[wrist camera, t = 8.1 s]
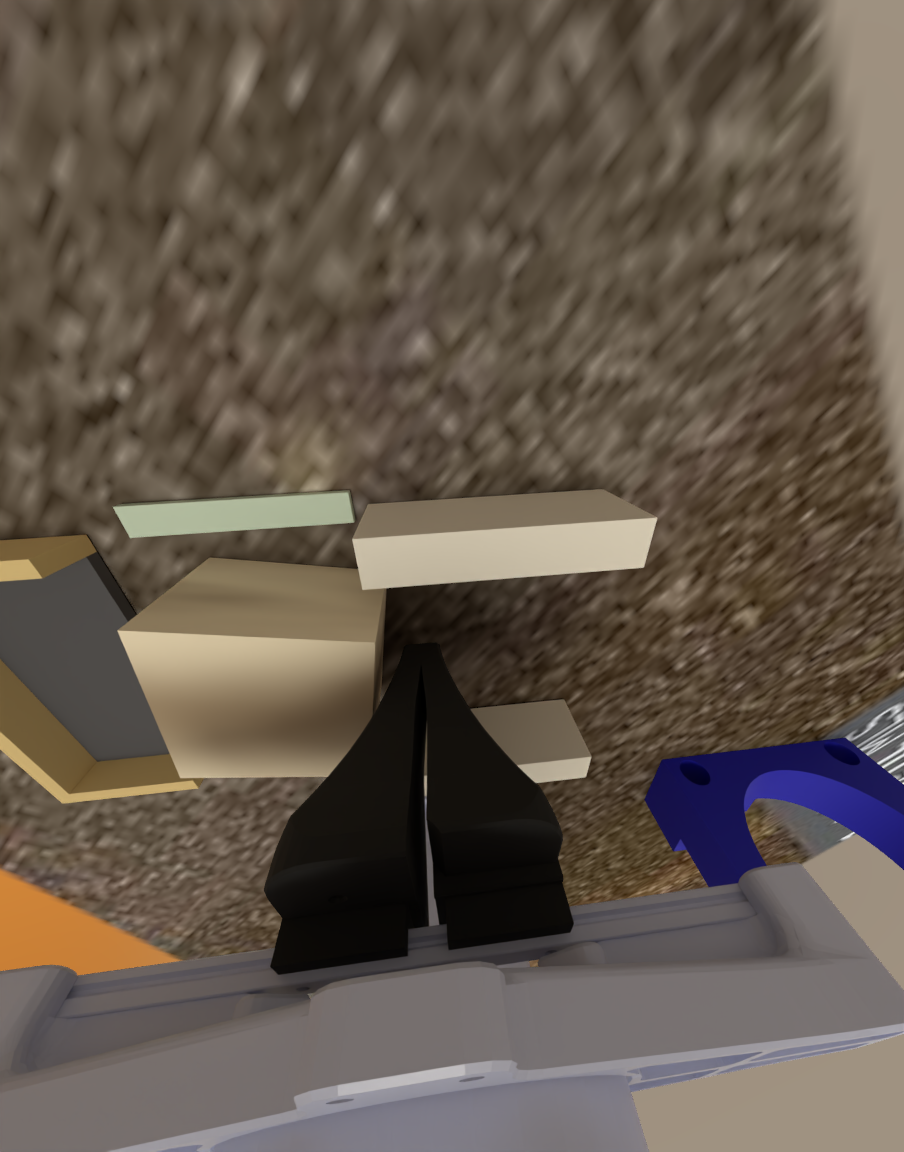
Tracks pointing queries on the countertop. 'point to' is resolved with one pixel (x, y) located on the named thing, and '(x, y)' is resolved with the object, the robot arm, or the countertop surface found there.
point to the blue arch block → (788, 772)
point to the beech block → (260, 667)
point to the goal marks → (236, 513)
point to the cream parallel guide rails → (499, 551)
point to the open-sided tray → (74, 677)
